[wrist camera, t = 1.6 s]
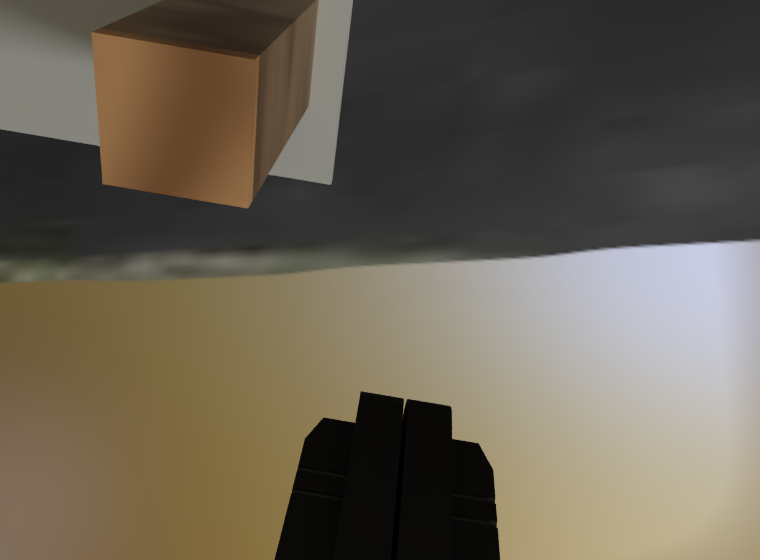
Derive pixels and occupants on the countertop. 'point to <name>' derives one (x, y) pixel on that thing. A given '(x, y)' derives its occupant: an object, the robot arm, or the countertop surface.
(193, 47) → the walnut block
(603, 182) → the countertop surface
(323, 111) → the grey mat
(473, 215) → the countertop surface
